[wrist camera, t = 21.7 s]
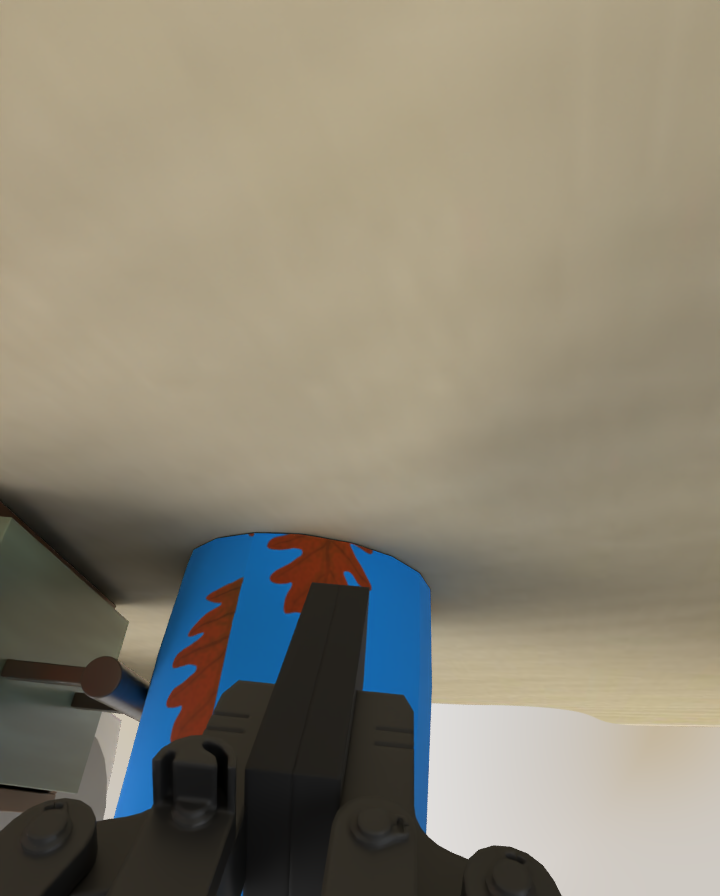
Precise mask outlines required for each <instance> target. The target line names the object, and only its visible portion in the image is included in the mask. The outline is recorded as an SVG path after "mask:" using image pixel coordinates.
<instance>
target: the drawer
mask: <svg viewBox="0 0 720 896" xmlns="http://www.w3.org/2000/svg"><path fill="white" fill-rule="evenodd" d="M128 624H129V621H128V620H126V619H125V618H124V617H123V616H122V615H121V614H120V613H119V612H117V611H116V610H115V609H114V608H113V607H112V606H111V605H110V604H108V603H107V602H106V601H105V600H104V599H103V598H102V597H101V596H100V595H98V594H97V593H96V592H95V591H94V590H93V589H92V588H91V587H89V586H88V585H87V584H86V583H85V582H84V581H83V580H82V579H80V578H79V577H78V576H77V575H76V574H75V573H74V572H73V571H71V570H70V569H69V568H68V567H67V566H66V565H65V564H64V563H62V562H61V561H60V560H59V559H58V558H57V557H56V556H55V555H53V554H52V553H51V552H50V551H49V550H48V549H47V548H46V547H44V546H43V545H42V544H41V543H40V542H39V541H38V540H37V539H35V538H34V537H33V536H32V535H31V534H30V533H29V532H28V531H27V530H25V529H24V528H23V527H22V526H21V525H20V524H19V523H18V522H16V521H15V520H14V519H13V518H12V517H2V516H0V784H3V785H11V786H18V787H26V788H33V789H40V790H48V791H56V792H64V793H73V794H77V793H78V790H79V786H80V783H81V780H82V776H83V773H84V770H85V766H86V763H87V760H88V756H89V753H90V750H91V746H92V743H93V740H94V736H95V733H96V730H97V727H98V723H99V720H100V717H101V713H102V712H110V713H119V714H125V715H127V716H129V717H131V718H133V719H135V720H137V721H139V722H140V719H141V715H142V712H143V708H144V704H145V701H146V697H147V693H148V689H149V686H150V682H148V681H147V680H146V679H144V678H143V677H141V676H140V675H138V674H137V673H135V672H134V671H133V670H131V669H130V668H128V667H127V666H125V665H124V664H123V663H121V662H120V661H118V657H119V653H120V650H121V647H122V643H123V640H124V637H125V634H126V630H127V627H128Z"/></svg>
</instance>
